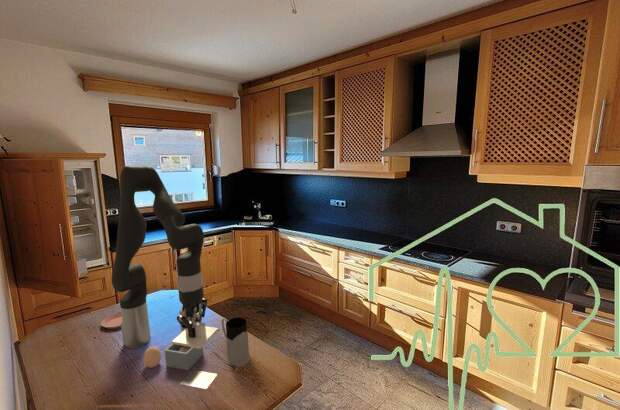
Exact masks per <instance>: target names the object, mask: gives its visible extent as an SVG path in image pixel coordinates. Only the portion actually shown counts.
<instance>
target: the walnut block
mask: <svg viewBox="0 0 620 410" xmlns="http://www.w3.org/2000/svg"><path fill="white" fill-rule="evenodd" d="M191 348H192V347H181V348H180V350H179V352H185V353H187V352H188V351H189V350H190V349H191Z"/></svg>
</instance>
